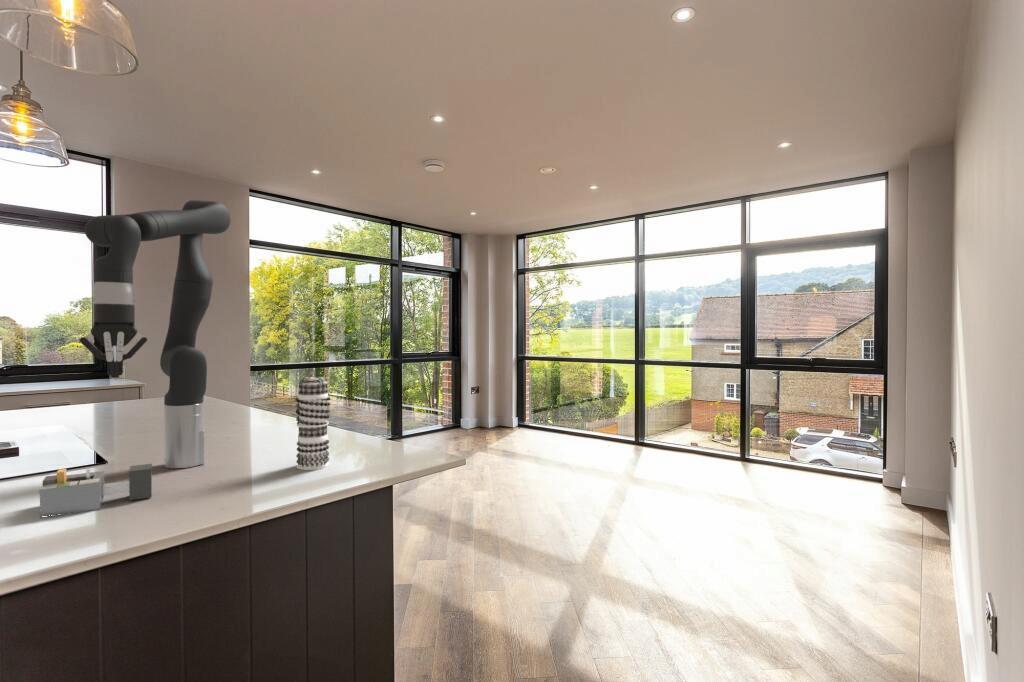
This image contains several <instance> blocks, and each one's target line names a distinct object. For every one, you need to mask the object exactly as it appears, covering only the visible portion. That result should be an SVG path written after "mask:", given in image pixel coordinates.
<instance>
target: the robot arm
mask: <svg viewBox="0 0 1024 682" xmlns="http://www.w3.org/2000/svg"><path fill="white" fill-rule="evenodd" d="M231 221H232V219H231V214H230V210H229V209H228V208H227V206H225V205H224V204H223V203H220V202H217V201H213V200H212V201H211V200H197V199H196V200H195V199H192V200H188V201H187V202H185V203H184V204H183V207H182V209H180V210H179V209H175V210H174V209H173V210H171V209H170V210H169V209H167V210H164V209H162V210H147V211H139V212H136V213H135V212H134V213H128V214H110V215H107V214H106V215H96V216H94V217H91V218H90V219H89V220H88V221H87V222H86V224H85V226H84V234H85V236H86V238H87V239H88V240H89V241H90V242H91V243H92V244H94V245H96V246H99V247H102V248H103V247H104V248H109V250H108V252H107V254H105V255H103V256H99V257H97V258H96V259H95V261H94V270H93V271H94V272H93V273H94V286H93V290H92V291H93V295H92V296H93V297H92V303H93V307H92V309H93V326H92V328H91V329H90V333H88V334H87V335H85V336H83V337H80V338H79V342H80V343H81V345H83V346H84V347H85V348H86V349H87V350H88V351H89V352H90V353H91V354H92V355H93V356H94V357H95V358H96V359H97V360H101V361H102V360H103V361H105V362H106V374H107V375H108V377H109V376H110V378H111V379H118V378H120V376H122V375H123V373H124V361H125V360H129V359H132V357H133V356H134V355H135V354H136V353H137V352H138V351H140V349H141V348H142V347H143V346H144V345H145V344H146V343H147V341H148V338H147V337H146V336H143V335H142V334H140V333H138V329H137V327H136V324H135V322H136V321H135V319H136V317H135V314H136V313H135V302H136V301H135V290H134V279H133V278H134V264H135V261H136V258H137V255H138V251H139V250H140V245H141V242H151V241H157V240H158V241H159V240H161V239H168V238H171V237H178V236H179V249H178V258H177V266H176V270H175V271H176V272H175V277H174V282H173V290H172V297H171V305H170V312H169V323H168V329H167V333H166V337H165V341H164V344H163V348H162V350H161V351H162V352H161V355H160V359H159V365H160V366H159V367H160V369H161V371H162V372H163V373H164V374H165V375H166V376H168V377H169V386H168V391H167V392H166V394H165V395H164V400H163V402H164V403H163V405H164V412H163V413H164V417H163V418H164V419H163V421H164V422H163V423H164V467H165V468H167V469H184V468H192V467H196V466H199V465H205V429H204V396H205V394H206V390H207V375H208V364H207V363H208V362H207V358H206V356H205V354H204V352H202V351H201V350H200V349H199V348H197V347H196V343H197V342H196V340H197V335H198V334H197V332H198V330H199V327H200V324H201V322H202V321H203V318H205V314H206V312H207V311H208V309H209V307H210V302H211V298H212V291H213V283H214V279H213V275H212V273H211V270H210V268H209V266H208V264H207V262H206V260H205V257H204V254H203V238H204V234H205V235H218V234H223V233H225V232H227V230H228V229H229V227H230V225H231ZM94 338H95V339H96V340H97V342H99V344H100V345H102V346H104V350H105V353H103V352H102V351H101V350H100V349H99V348H98V347H97V346H96V345H94V344H95V339H94ZM134 338H135V339H134ZM133 339H134V343H135V345H133V346H132V347H131V349H130V350H129V351H128V352H127V353H124V351H125V347H126V346H127V345H128V344H130V342H132V340H133ZM114 347H116V353H114ZM114 354H115V356H114Z"/></svg>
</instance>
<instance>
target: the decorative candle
mask: <svg viewBox="0 0 1024 682" xmlns="http://www.w3.org/2000/svg"><path fill="white" fill-rule="evenodd" d="M328 384H329V382H328V381H326V379H325V378H324V377H323V376H306V377H302V378H301V379H300V380H299V382H297V385H298V394H297V397H295V398H294V401H296V404H295V409H296V411H295V414H296V415H297V416H296V419H295V420H296V426H297V427H298V435H297V442H296V446H297V447H296V451H297V452H298V453H297V454H296V458H297V459H296V463H297V465H296V468H297V470H302V471H315V470H320V469H325V468H328V466H329V464H330V463H329V460H330V457H329V456H330V452H329V448H330V446H329V444H330V440H329V438H328V436H329V435H328V425H329V424H330V423H329V421H328V419H329V418H331V417H330V415H329V413H330V411H331V410H329V409H328V408H327V407H329V406H331V402H329V401H330V400H331V397H329V395H328V394H329V393H328Z"/></svg>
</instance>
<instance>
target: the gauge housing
mask: <svg viewBox="0 0 1024 682" xmlns="http://www.w3.org/2000/svg"><path fill="white" fill-rule="evenodd" d="M90 478H91V479H89V480H86V472H84V473H78V474H77V473H76V474H68V475H67V474H66V482H62V483H57V474H55V475H48V476H45V477H44V478H43V480H42V486H41V487H40V488H39V518H40V517H42V516H49V515H50V516H51V515H58V514H65V515H69V514H68V513H72V514H75V513H74V512H79V513H81V512H80V511H85V512H88V511H87V510H92V511H97V509H99V510H101V508H102V505H103V503H102V502H104V500H105V497H106V495H103V496H101V485H102V484H106V483H105V482H106V481H105V470H102V471H93V472H91V471H90ZM104 496H105V497H104ZM103 499H104V500H103Z"/></svg>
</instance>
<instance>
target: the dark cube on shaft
mask: <svg viewBox="0 0 1024 682" xmlns="http://www.w3.org/2000/svg"><path fill="white" fill-rule="evenodd" d="M152 464H153V463H146V464H138V465H130V466H129V467H130V468H129V470H128V474H129V477H128V478H129V479H128V480H127V481H126V480H125V481H118V482H116V481H115V482H109V483H105V484H102V485H101V496H103V495H105V496H109V495H117V494H123V493H129V494H128V495H129V497H128V498H129V501H134V500H139V499H140V500H142V499H148V498H152V496H153V494H152V493H153V476H152V475H153V472H152V471H153V467H152V466H153V465H152ZM85 473H86V480H89V479H91V478H90V473H91V467H87V469H86V471H85Z"/></svg>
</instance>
